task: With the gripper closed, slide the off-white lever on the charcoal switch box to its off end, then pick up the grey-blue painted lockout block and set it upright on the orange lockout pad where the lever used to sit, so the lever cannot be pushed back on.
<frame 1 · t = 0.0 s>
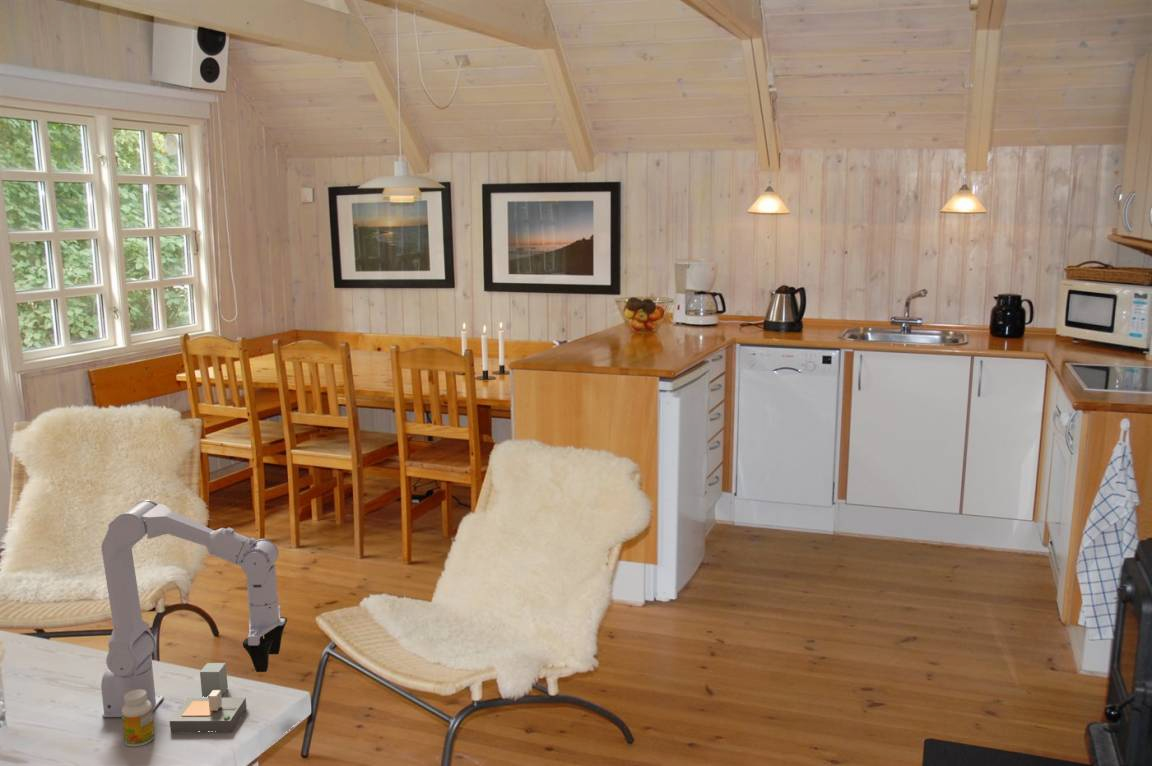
hand: (267, 662, 197), 10 cm above the table, tool pointing down, fingers open, 7 cm apart
lockout block: (215, 693, 205), on the table
lever: (215, 700, 193), point 4 cm above the table, slide at 0.0 cm
switch box: (209, 720, 194), on the table
supplement bottle: (140, 740, 187), on the table
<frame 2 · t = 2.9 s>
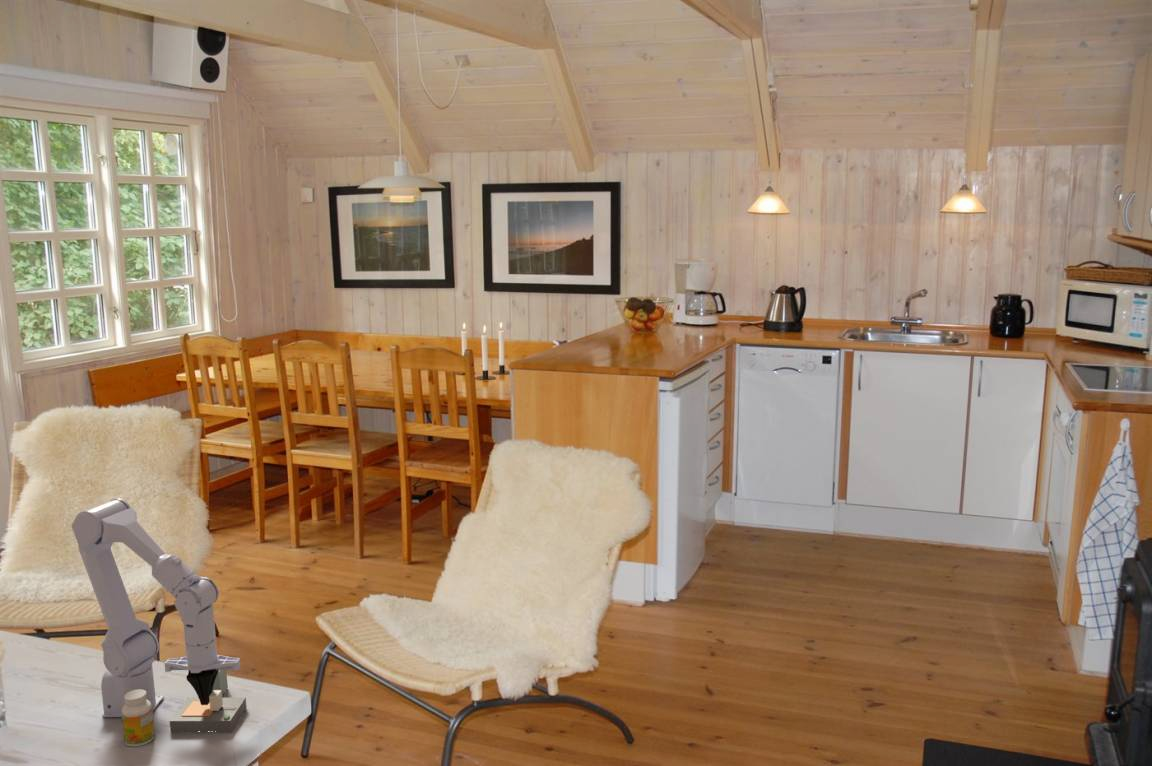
hand: (206, 702, 193), 4 cm above the table, tool pointing down, fingers closed
lever: (216, 700, 193), point 4 cm above the table, slide at 0.2 cm, touching gripper
everything else where it was.
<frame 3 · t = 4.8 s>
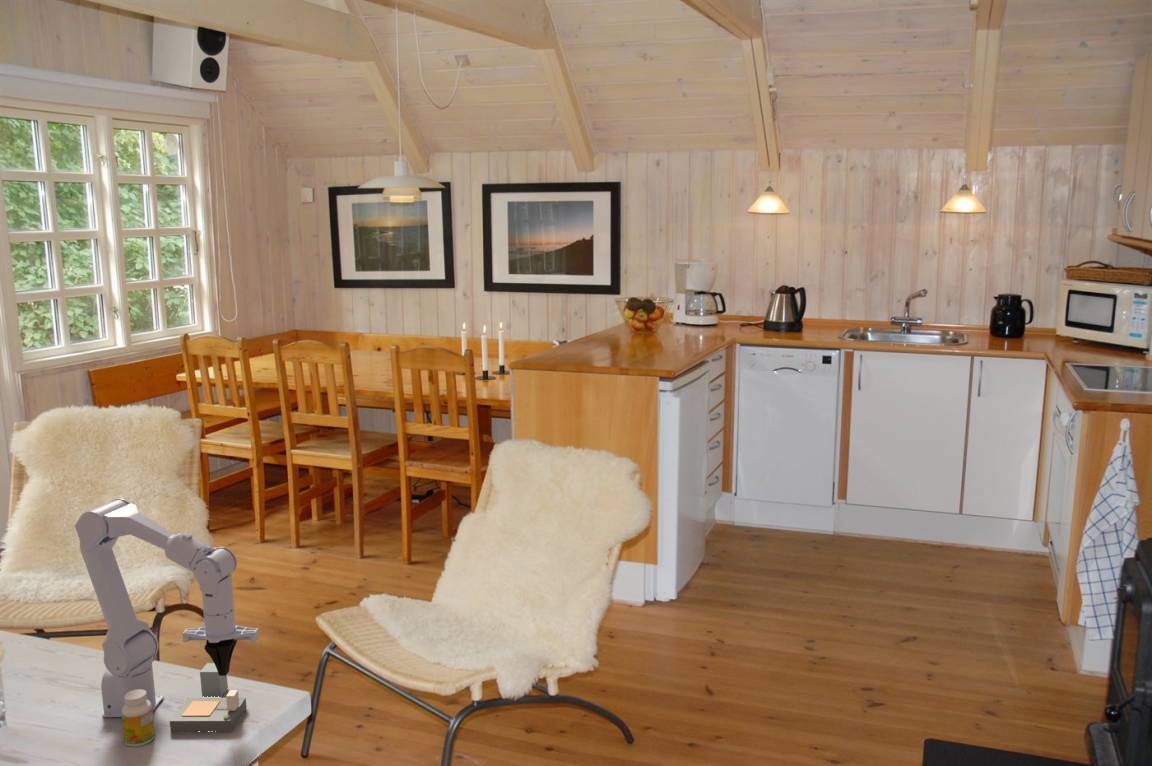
hand: (224, 673, 192), 10 cm above the table, tool pointing down, fingers closed
lever: (232, 700, 193), point 4 cm above the table, slide at 3.6 cm
everything else where it was.
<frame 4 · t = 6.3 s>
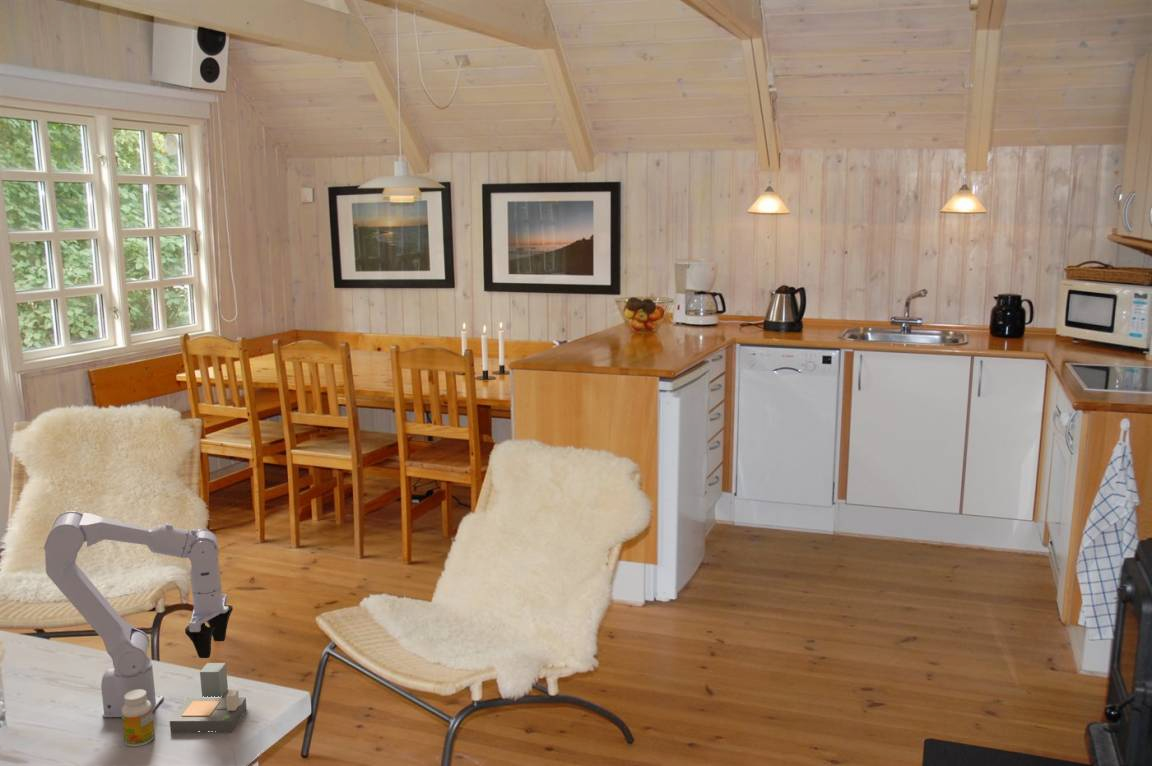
hand: (212, 648, 203), 10 cm above the table, tool pointing down, fingers open, 7 cm apart
nothing on the table moved.
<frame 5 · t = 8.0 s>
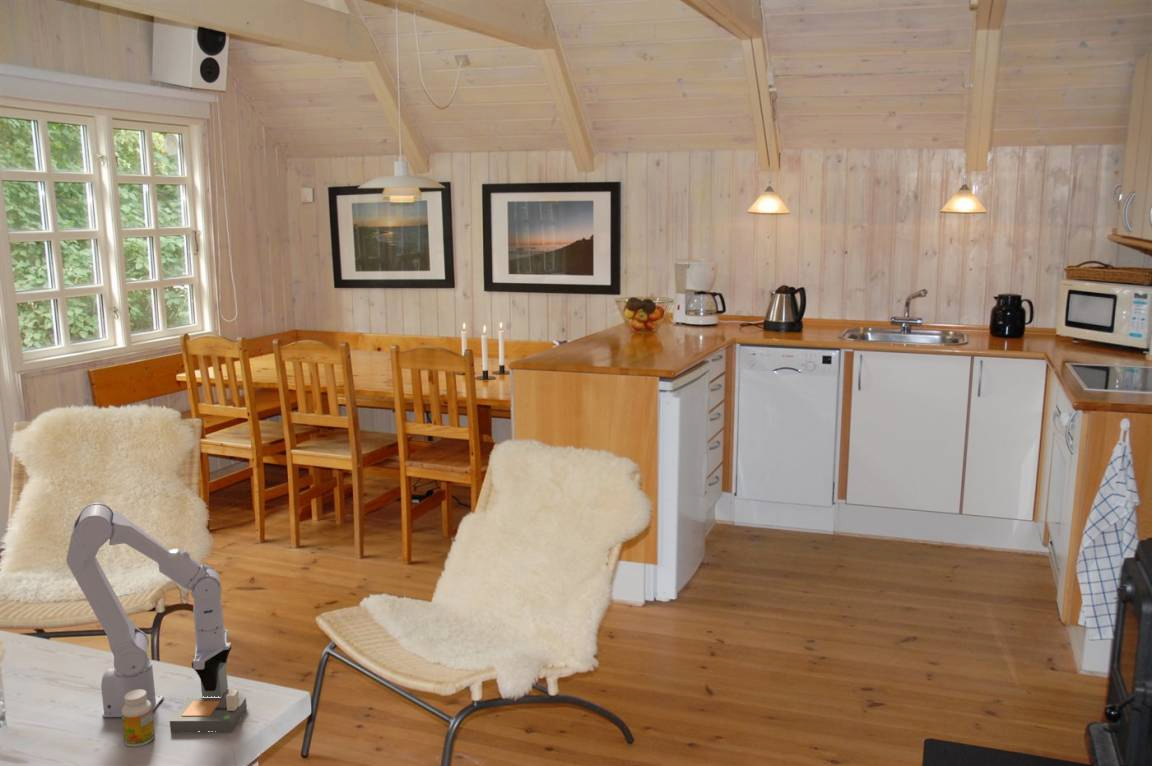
hand: (214, 684, 205), 2 cm above the table, tool pointing down, fingers closed on lockout block, 4 cm apart
lockout block: (215, 693, 205), on the table, touching gripper
everything else where it was.
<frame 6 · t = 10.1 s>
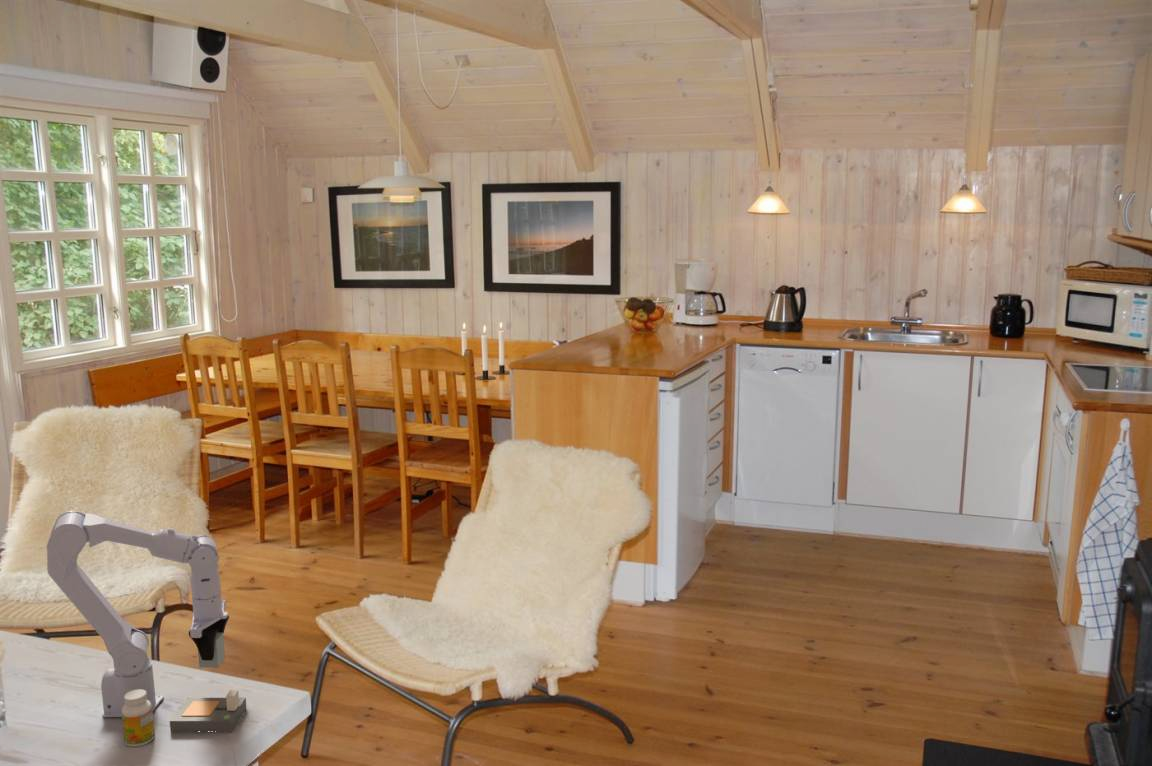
hand: (211, 654, 203), 9 cm above the table, tool pointing down, fingers closed on lockout block, 4 cm apart
lockout block: (212, 663, 204), point 7 cm above the table, touching gripper
everything else where it was.
when the fingers open (6 cm above the table, at t = 12.3 s): lockout block stays where it is, resting on switch box.
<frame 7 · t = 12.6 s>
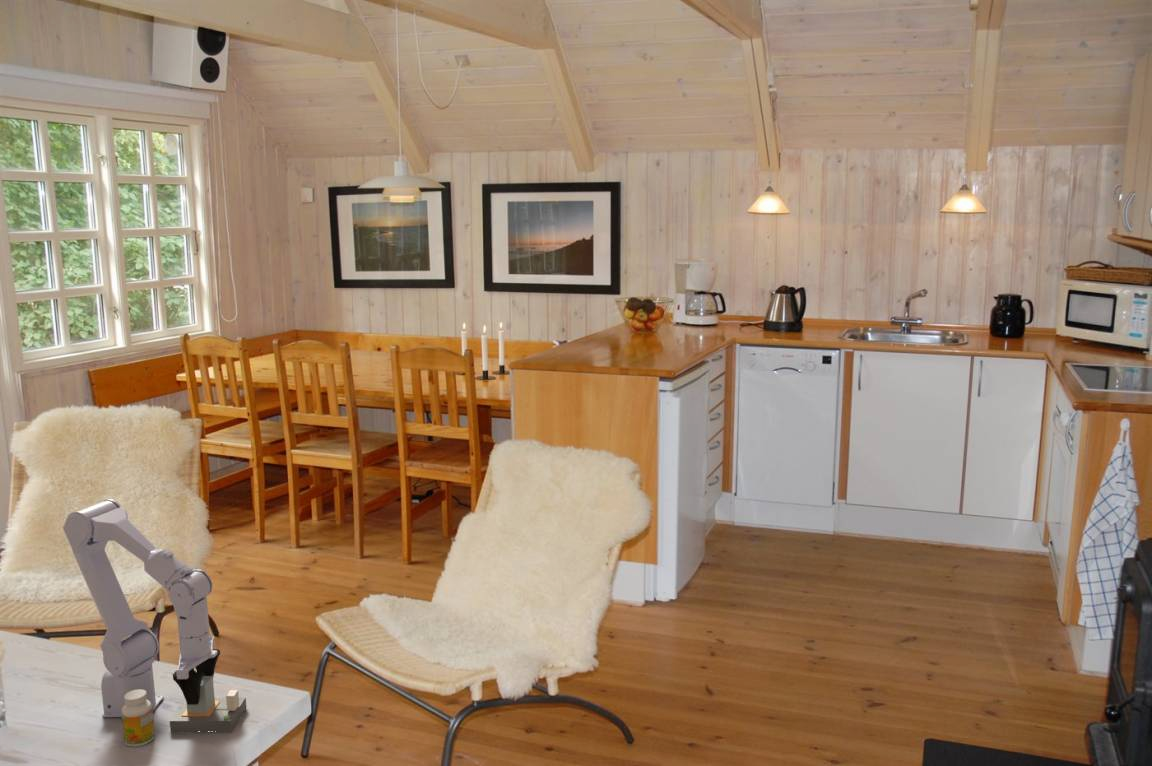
hand: (199, 694, 193), 6 cm above the table, tool pointing down, fingers open, 6 cm apart
lockout block: (201, 708, 194), point 3 cm above the table, touching switch box
everything else where it was.
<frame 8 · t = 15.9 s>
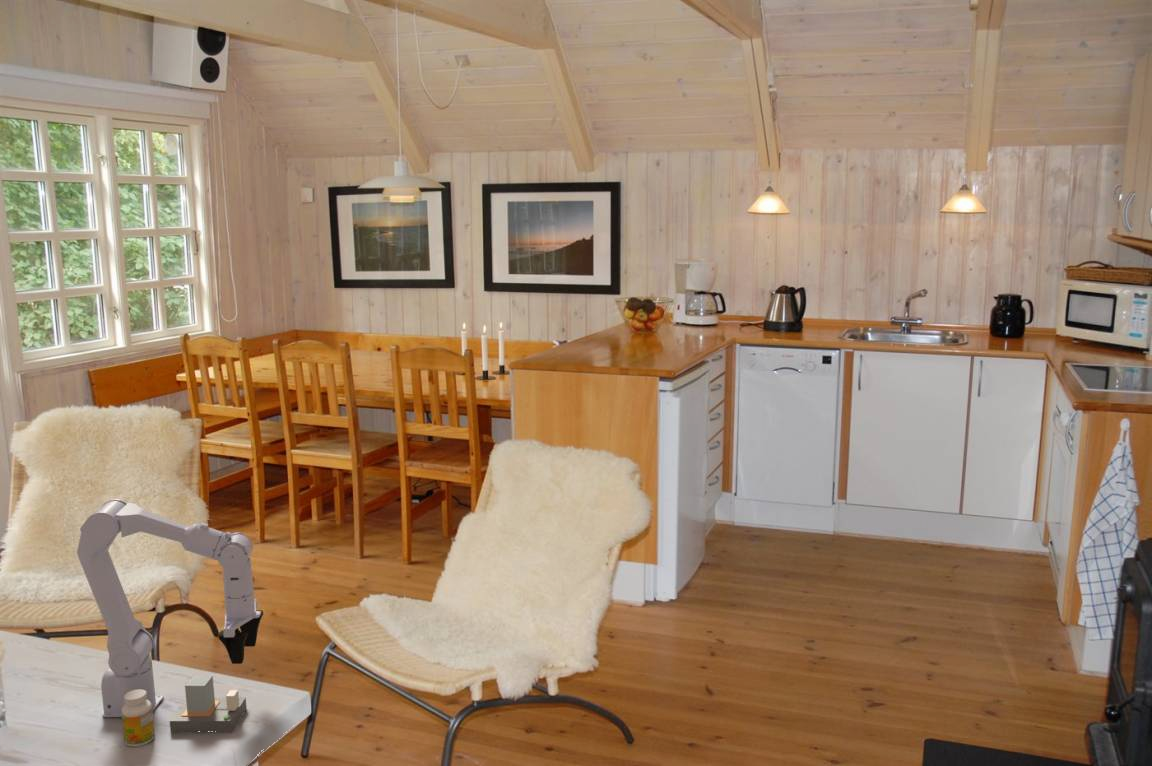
hand: (243, 654, 200), 10 cm above the table, tool pointing down, fingers open, 7 cm apart
nothing on the table moved.
at the end: lever slide at 3.6 cm; lockout block 0.1 cm from the target spot on the switch box, point 2.7 cm above the switch box's base; lockout block tilted 0° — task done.
